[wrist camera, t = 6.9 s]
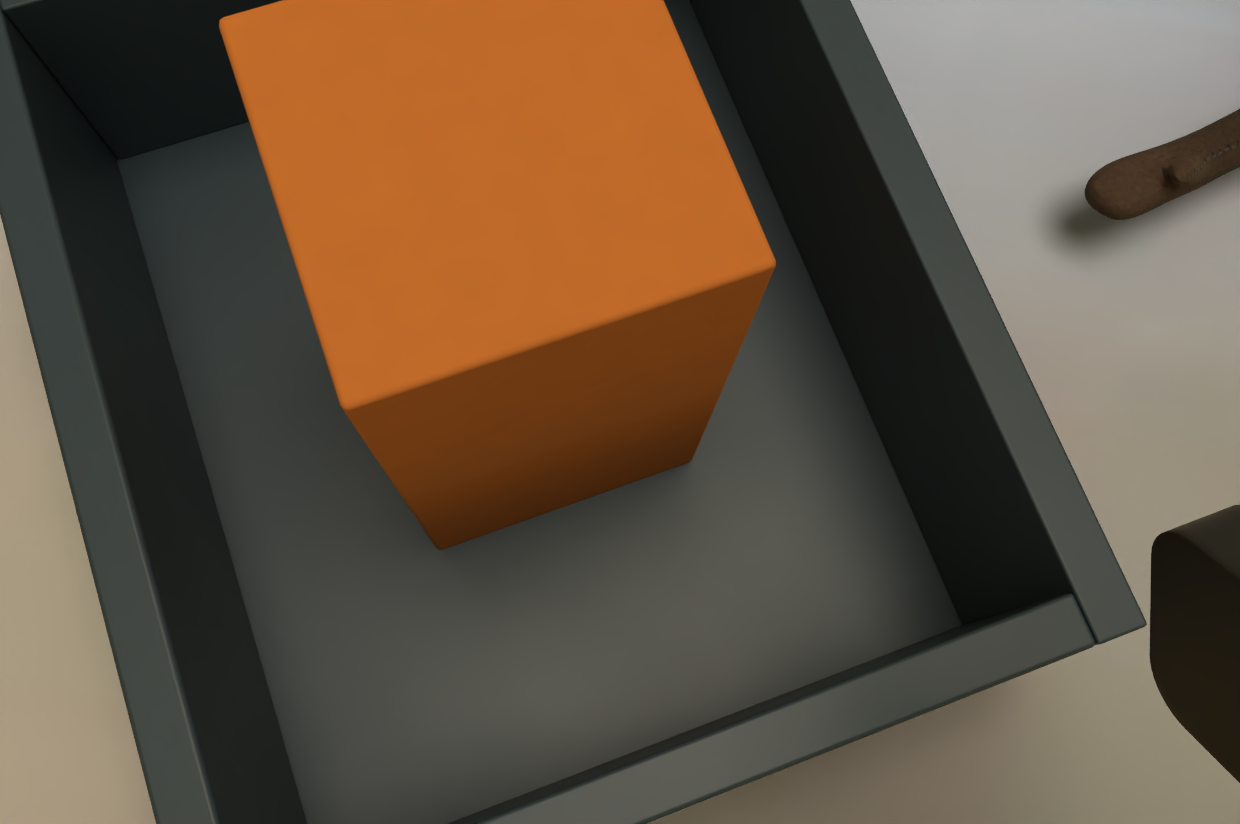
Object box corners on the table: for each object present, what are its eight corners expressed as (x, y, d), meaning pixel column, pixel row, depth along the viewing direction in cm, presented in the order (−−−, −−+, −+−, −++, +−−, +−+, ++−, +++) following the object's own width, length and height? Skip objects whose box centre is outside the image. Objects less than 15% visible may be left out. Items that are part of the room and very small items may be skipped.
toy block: (602, 228, 23) (622, -102, 14) (693, 461, 22) (780, 264, 13) (357, 308, 23) (214, 16, 14) (437, 551, 22) (341, 411, 12)
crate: (704, -38, 26) (738, -237, 20) (1012, 653, 22) (1149, 625, 17) (76, 148, 24) (-61, -18, 19) (294, 934, 20) (199, 1000, 15)
